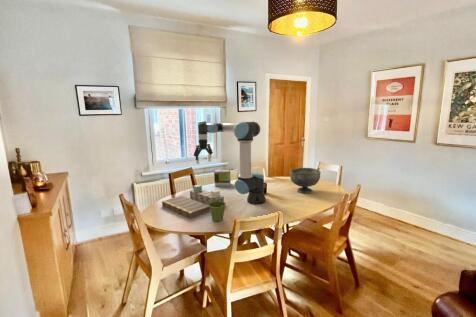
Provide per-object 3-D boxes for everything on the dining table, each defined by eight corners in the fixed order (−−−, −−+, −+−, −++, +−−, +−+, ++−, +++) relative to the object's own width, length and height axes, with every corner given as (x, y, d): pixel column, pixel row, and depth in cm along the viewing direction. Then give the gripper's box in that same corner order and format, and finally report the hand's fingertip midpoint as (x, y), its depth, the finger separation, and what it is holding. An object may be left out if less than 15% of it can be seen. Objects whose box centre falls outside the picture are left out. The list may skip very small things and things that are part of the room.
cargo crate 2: (220, 196, 196) (219, 190, 195) (215, 197, 192) (215, 192, 191) (215, 195, 199) (215, 189, 198) (211, 196, 196) (210, 191, 195)
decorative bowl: (326, 192, 222) (326, 170, 219) (307, 198, 208) (307, 175, 205) (303, 186, 244) (303, 166, 241) (284, 191, 230) (284, 170, 227)
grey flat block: (210, 211, 184) (210, 205, 183) (190, 218, 171) (190, 213, 170) (181, 200, 207) (181, 195, 207) (162, 206, 194) (161, 201, 194)
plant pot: (212, 215, 176) (212, 200, 174) (228, 217, 173) (228, 201, 171) (205, 222, 165) (205, 206, 163) (222, 224, 162) (222, 208, 160)
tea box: (230, 183, 255) (230, 169, 252) (229, 186, 245) (229, 171, 242) (216, 183, 256) (215, 169, 254) (214, 186, 247) (214, 171, 244)
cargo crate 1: (201, 190, 211) (201, 185, 210) (197, 192, 207) (197, 186, 206) (198, 189, 214) (198, 184, 213) (193, 190, 210) (193, 185, 209)
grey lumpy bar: (224, 204, 197) (223, 196, 196) (215, 208, 191) (215, 199, 189) (198, 196, 218) (198, 188, 217) (190, 198, 212) (189, 190, 210)
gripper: (210, 137, 229) (211, 160, 233) (188, 139, 211) (189, 164, 215) (216, 138, 224) (216, 161, 228) (194, 140, 206) (195, 165, 210)
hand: (203, 162), depth 221 cm, fingers open, 13 cm apart
